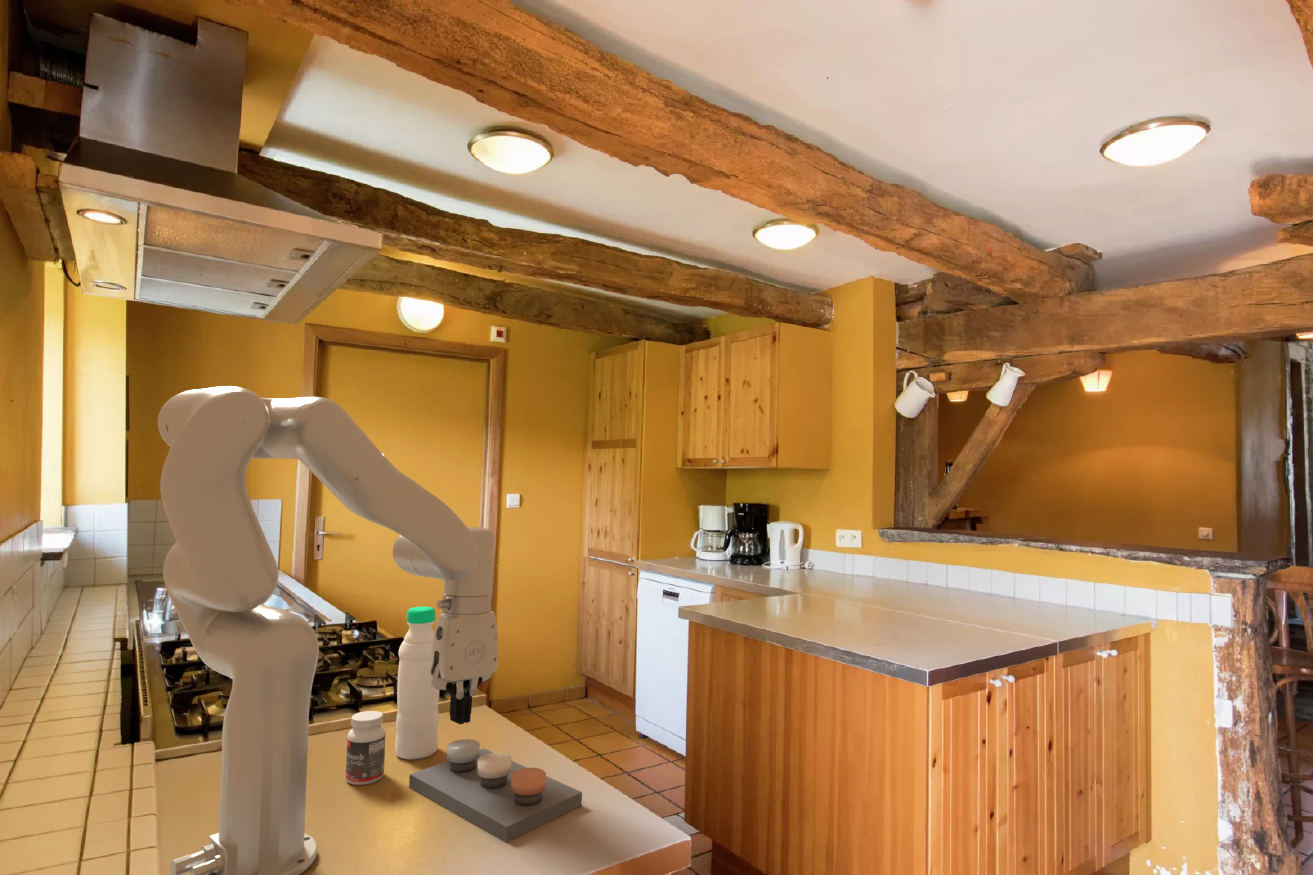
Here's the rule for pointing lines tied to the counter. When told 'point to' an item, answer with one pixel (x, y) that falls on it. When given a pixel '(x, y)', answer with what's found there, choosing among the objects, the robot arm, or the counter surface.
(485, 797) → the button panel
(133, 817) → the counter surface
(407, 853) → the counter surface
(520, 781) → the terracotta button
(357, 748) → the pill bottle
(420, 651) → the water bottle
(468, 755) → the bluegrey button
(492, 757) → the white button
